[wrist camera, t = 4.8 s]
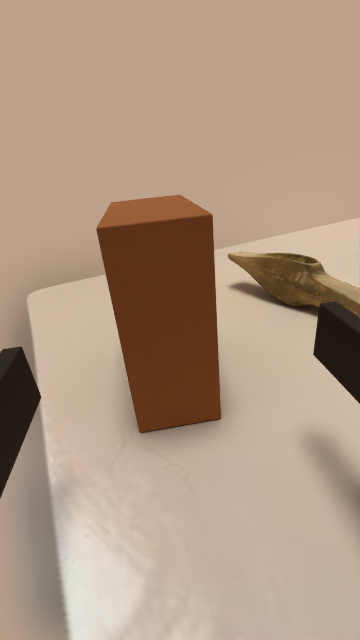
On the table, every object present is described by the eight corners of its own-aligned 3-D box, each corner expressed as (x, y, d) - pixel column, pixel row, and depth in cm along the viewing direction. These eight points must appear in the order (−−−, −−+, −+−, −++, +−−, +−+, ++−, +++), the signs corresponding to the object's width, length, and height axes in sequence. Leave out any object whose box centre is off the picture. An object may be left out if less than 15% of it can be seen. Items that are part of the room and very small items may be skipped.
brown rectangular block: (139, 433, 18) (95, 227, 13) (137, 346, 27) (110, 202, 22) (221, 418, 19) (212, 213, 13) (192, 337, 28) (180, 194, 22)
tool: (473, 351, 24) (503, 298, 22) (438, 383, 21) (468, 325, 19) (259, 269, 40) (264, 233, 38) (222, 280, 37) (224, 242, 35)
